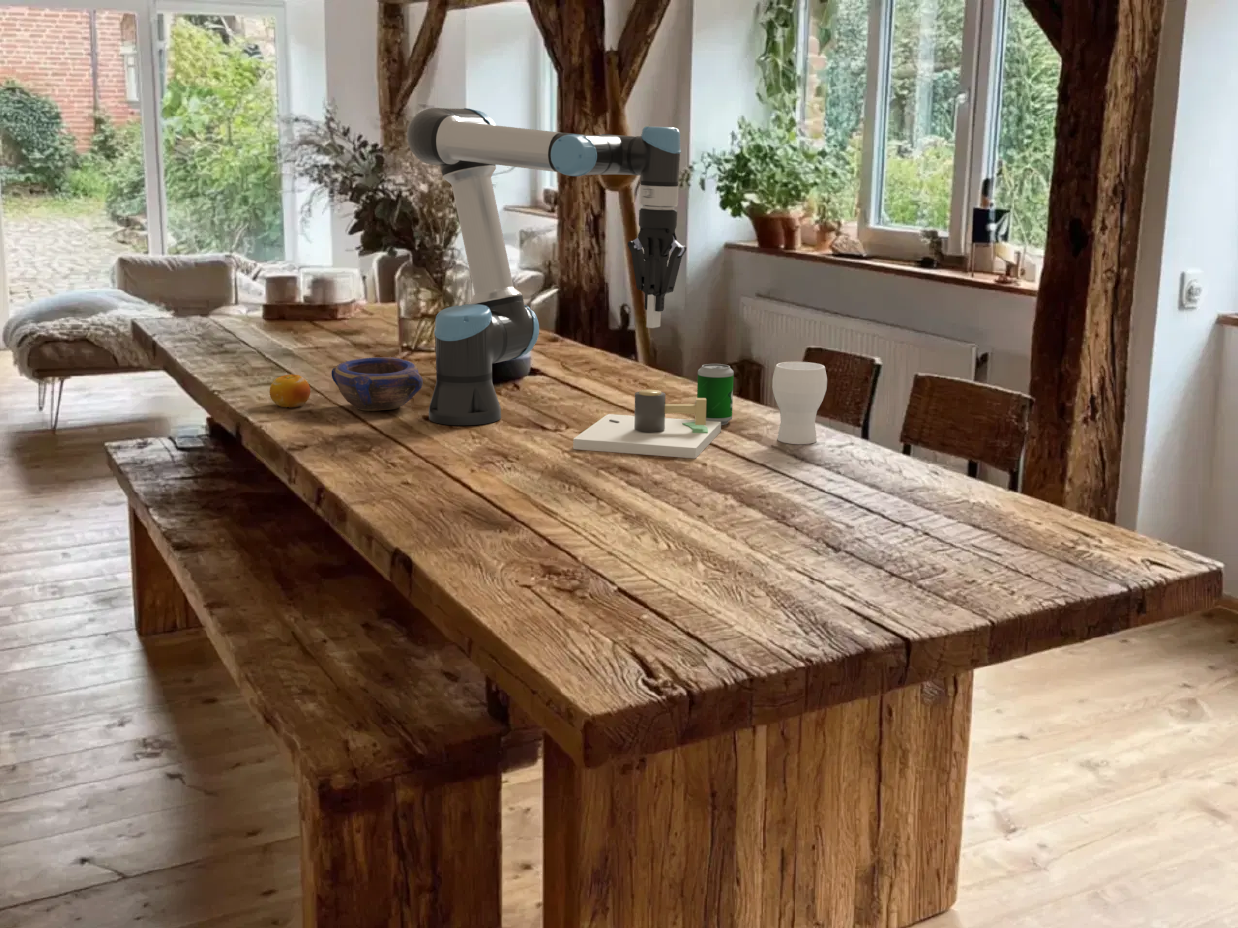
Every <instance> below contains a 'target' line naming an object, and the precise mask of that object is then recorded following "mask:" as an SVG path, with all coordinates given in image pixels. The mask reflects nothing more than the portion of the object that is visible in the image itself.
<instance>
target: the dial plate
mask: <svg viewBox="0 0 1238 928" xmlns="http://www.w3.org/2000/svg"><path fill="white" fill-rule="evenodd" d="M634 421H635V415H628V414H627V415H626V414H613V413H607V414H606V415H605V416H602V418H600V419H599V420H598V421H596V422H595V423H593V424H592V425H591V426H589V427H587V429H585V430H583V431H581V433H579V434H578V435H577V436H575V437H574V438H573V442H572V443H573V444H572V445H573V446H572V447H573V448H572V449H573V450H580V451H581V450H582V451H594V452H595V451H596V452H608V453H619V454H632V455H634V454H635V455H646V456H659V457H660V456H661V457H670V458H671V457H672V458H673V457H675V458H684V459H697V458H698V457H699V456H700V454H702V452H703V451H704V450H705V449H707V447H708V446H709V445H710V444H711V443H712V442H713V440H714V439H715V438H717V437H718V435H719V434H720V433H721V432H722V425H721V422H716V421H706V425H695V419H685V418H672V417H671V418H670V417H665V429H664V430H663V431H658V432H643V431H638V430H635V429H634Z"/></svg>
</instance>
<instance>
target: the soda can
mask: <svg viewBox="0 0 1238 928" xmlns="http://www.w3.org/2000/svg"><path fill="white" fill-rule="evenodd" d="M734 375H735V374H734V370H733V369H732V368H731V366H730V365H727V364H723V363H722V364H721V363H708V364H707V363H706V364H702V365H701V367H700V368H699V369H698V370H697V384H696V385H697V387H696V390H697V391H696V398H706V421H716V422H721V426H724V425H725V426H726V425H728V423H729V422H730V421H731V420H732V419H733V406H734V405H733V402H734V401H733V400H734V398H733V397H734Z"/></svg>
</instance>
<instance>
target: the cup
mask: <svg viewBox="0 0 1238 928" xmlns="http://www.w3.org/2000/svg"><path fill="white" fill-rule="evenodd" d="M771 382H772V383H771V384H772V385H771V386H772V388H771V389H772V392H773V396H774V399H775V400H774V401H775V402H776V405H777V406H778V409H779V418H780V424H779V427H778V428H779V429H778V432H777V433H778V434H777V437H776V439H777V440H778V441H779V442H781V443H784V444H793V445H809V444H814V443H816V442H817V441H818V440H817V430H816V418H817V413H818V410H819V409H820V407H821V405H822V402H823V401H824V398H825V396H826V392H827V387H828V376H827V372H826V367H825V365H824V364H821V363H818V362H817V363H816V362H811V361H810V362H808V361H784V362H779V363H777V364H776V365H775V367H774V372H773V375H772V381H771Z"/></svg>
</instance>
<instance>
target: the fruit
mask: <svg viewBox="0 0 1238 928" xmlns="http://www.w3.org/2000/svg"><path fill="white" fill-rule="evenodd" d="M310 386H311V385H310V384H309V382H308V381H307V380H306V378H305V377H303V376H301V375H299V374H285V375H281V376H278V377H276V378H275V379H273V381H272V383H271V384H270V387H269V397H270V399H271V401H272V402H273V403H274V404H276V405H277V406H278V407H281V408H287V407H289V408H298V407H303V406H304V405H305V404H306V403H307V402H308V400H309V399H310V395H311V387H310Z"/></svg>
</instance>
